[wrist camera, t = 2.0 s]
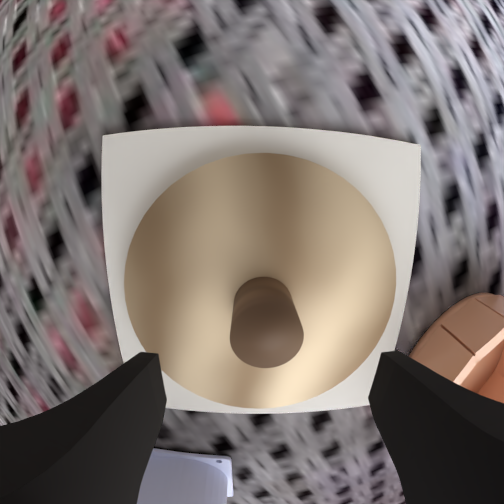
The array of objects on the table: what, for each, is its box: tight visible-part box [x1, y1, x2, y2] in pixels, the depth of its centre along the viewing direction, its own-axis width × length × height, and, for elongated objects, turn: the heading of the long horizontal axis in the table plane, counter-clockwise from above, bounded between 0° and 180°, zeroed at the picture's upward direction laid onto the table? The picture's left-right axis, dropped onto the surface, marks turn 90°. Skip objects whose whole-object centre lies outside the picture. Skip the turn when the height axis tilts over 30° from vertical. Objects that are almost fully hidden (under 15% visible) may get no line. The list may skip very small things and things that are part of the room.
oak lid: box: [124, 153, 396, 409], centre depth 13 cm, size 15×15×4 cm
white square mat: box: [102, 126, 421, 414], centre depth 16 cm, size 18×18×1 cm
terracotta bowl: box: [409, 293, 504, 403], centre depth 16 cm, size 13×13×5 cm
